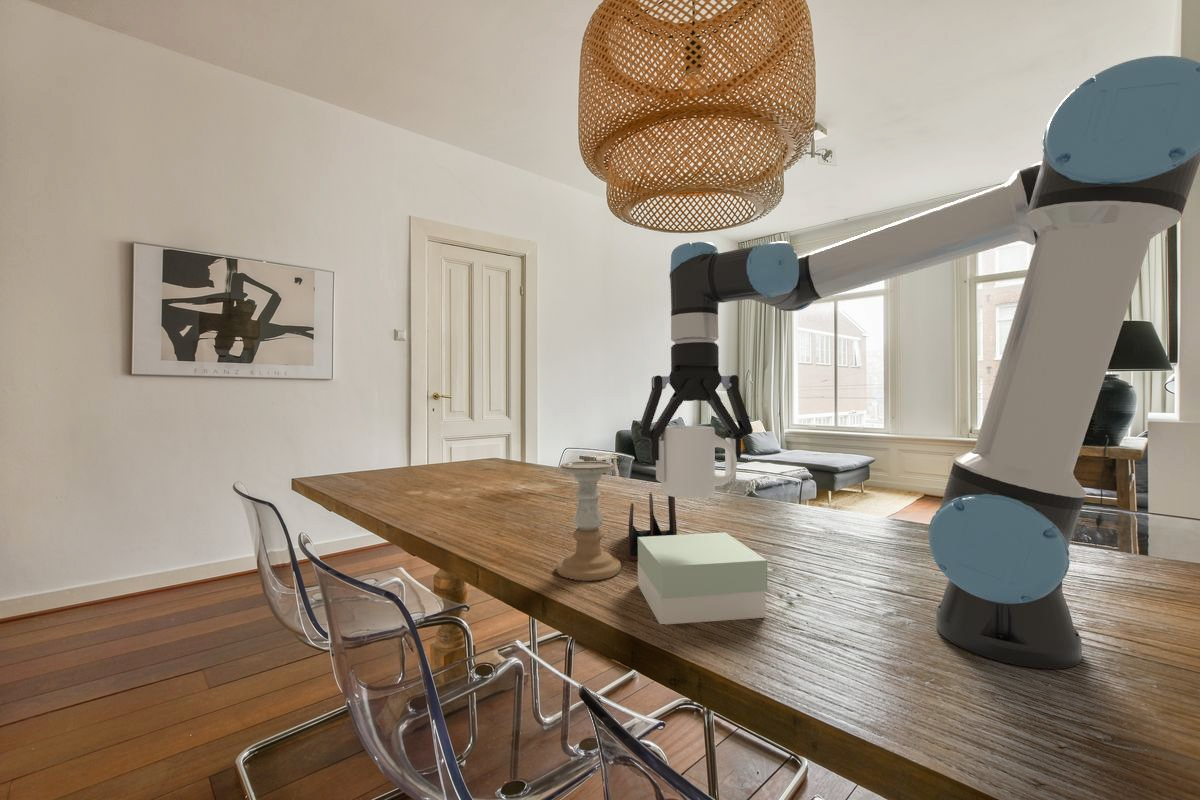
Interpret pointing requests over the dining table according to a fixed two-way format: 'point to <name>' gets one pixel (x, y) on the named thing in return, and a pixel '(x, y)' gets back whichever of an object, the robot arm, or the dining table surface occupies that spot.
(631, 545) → the letter holder
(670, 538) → the tower top
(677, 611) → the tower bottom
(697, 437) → the mug
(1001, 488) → the robot arm
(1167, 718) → the dining table surface
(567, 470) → the candle holder
